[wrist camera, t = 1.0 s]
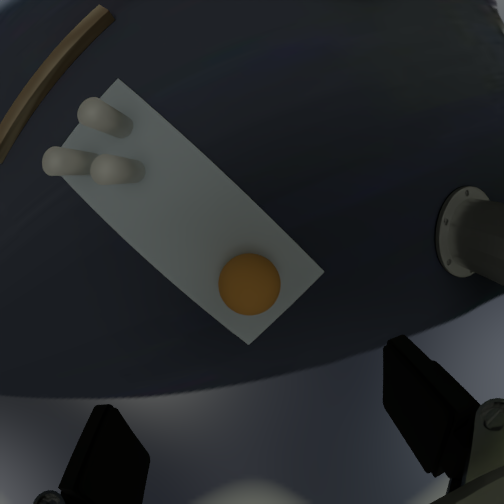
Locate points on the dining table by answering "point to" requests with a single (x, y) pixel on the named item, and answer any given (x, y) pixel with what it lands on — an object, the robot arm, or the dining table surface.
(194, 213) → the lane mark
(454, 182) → the dining table surface
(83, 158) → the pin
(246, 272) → the ball
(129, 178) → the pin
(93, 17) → the back wall
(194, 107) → the dining table surface
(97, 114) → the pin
